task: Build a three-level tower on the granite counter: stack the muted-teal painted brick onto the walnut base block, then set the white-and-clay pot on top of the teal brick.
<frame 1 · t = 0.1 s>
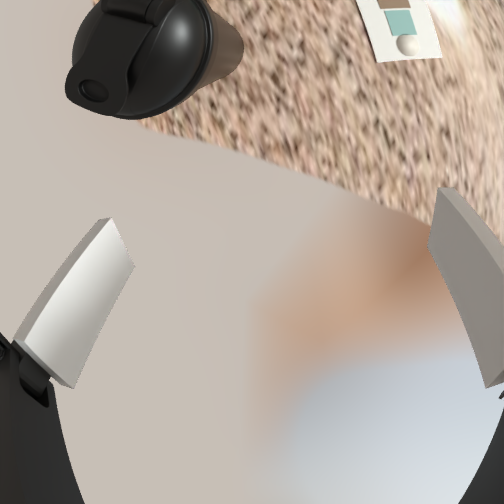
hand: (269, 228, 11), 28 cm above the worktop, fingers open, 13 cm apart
instruction page: (396, 10, 22), on the worktop
water bottle: (210, 49, 29), on the worktop
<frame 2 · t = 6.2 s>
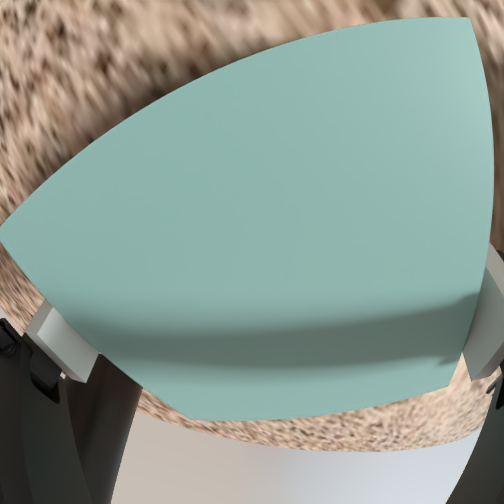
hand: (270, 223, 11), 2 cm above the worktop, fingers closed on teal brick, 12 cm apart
teal brick: (270, 214, 11), point 2 cm above the worktop, touching gripper
water bottle: (110, 371, 28), on the worktop
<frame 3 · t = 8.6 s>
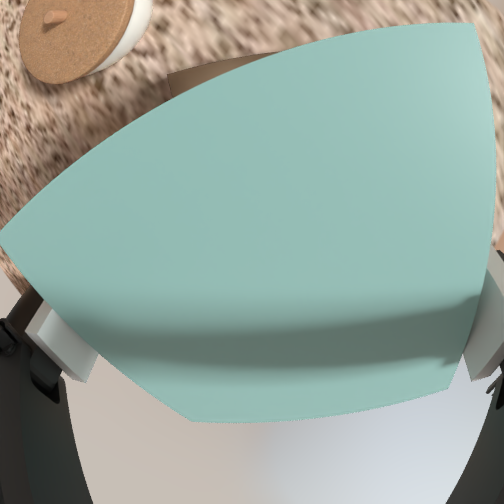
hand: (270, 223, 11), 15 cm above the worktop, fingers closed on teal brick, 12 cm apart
lidded jar: (118, 19, 17), on the worktop
walnut base: (278, 127, 23), on the worktop
teal brick: (271, 216, 11), point 15 cm above the worktop, touching gripper
water bottle: (53, 291, 42), on the worktop
when the fingers open (6 cm above the worktop, at t = 10.8 s): teal brick stays where it is, resting on walnut base.
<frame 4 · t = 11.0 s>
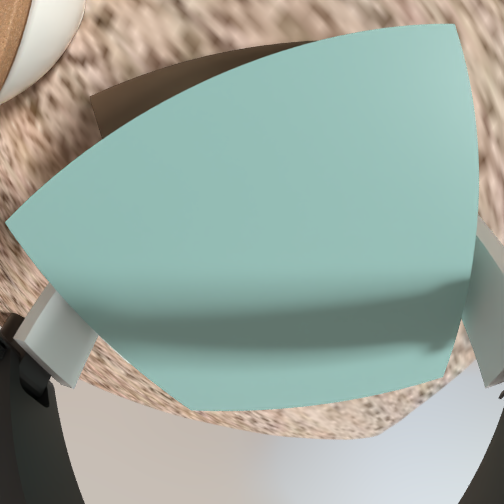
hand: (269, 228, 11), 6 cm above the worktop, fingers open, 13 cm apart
lidded jar: (53, 17, 10), on the worktop
walnut base: (275, 165, 16), on the worktop
teal brick: (270, 208, 12), point 5 cm above the worktop, touching walnut base
water bottle: (29, 329, 35), on the worktop
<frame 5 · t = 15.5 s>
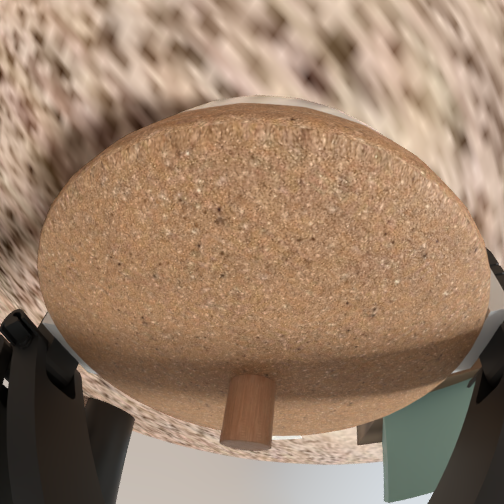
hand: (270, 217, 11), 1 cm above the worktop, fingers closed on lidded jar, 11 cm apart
lidded jar: (272, 202, 12), on the worktop, touching gripper
walnut base: (439, 354, 18), on the worktop
teal brick: (452, 408, 14), point 5 cm above the worktop, touching walnut base
water bottle: (111, 409, 38), on the worktop
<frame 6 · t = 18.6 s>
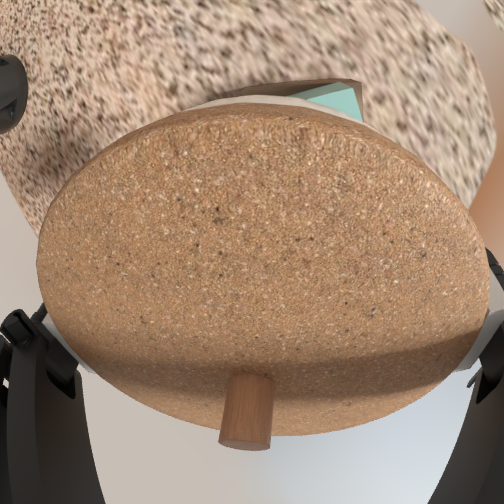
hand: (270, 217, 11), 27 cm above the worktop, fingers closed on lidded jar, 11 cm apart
lidded jar: (271, 202, 12), point 25 cm above the worktop, touching gripper
walnut base: (304, 129, 34), on the worktop
teal brick: (307, 140, 30), point 5 cm above the worktop, touching walnut base
when the fingers open (13 cm above the worktop, at t = 22.0 s): lidded jar stays where it is, resting on teal brick.
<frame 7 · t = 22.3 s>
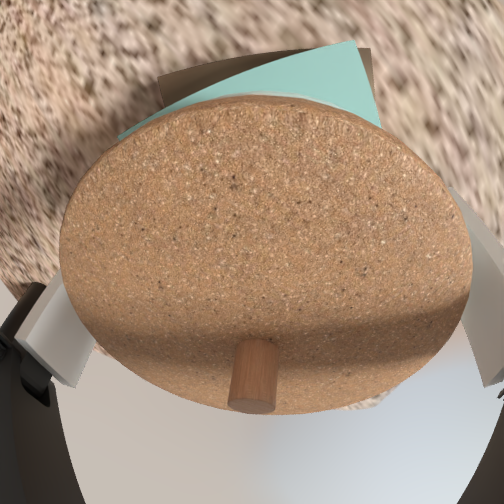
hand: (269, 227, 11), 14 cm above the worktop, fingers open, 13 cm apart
lidded jar: (272, 192, 13), point 11 cm above the worktop, touching teal brick
walnut base: (278, 133, 21), on the worktop
teal brick: (276, 152, 17), point 5 cm above the worktop, touching walnut base, lidded jar
water bottle: (48, 298, 41), on the worktop
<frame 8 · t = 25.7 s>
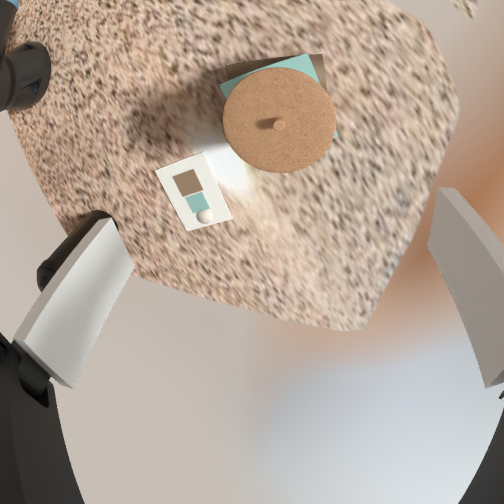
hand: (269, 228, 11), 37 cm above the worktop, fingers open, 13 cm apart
instruction page: (193, 194, 52), on the worktop
lidded jar: (280, 108, 31), point 11 cm above the worktop, touching teal brick
walnut base: (281, 97, 39), on the worktop
teal brick: (280, 101, 35), point 5 cm above the worktop, touching walnut base, lidded jar
water bottle: (103, 225, 59), on the worktop
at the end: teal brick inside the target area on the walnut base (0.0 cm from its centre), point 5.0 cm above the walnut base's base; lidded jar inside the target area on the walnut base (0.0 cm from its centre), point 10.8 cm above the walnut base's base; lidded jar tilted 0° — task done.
